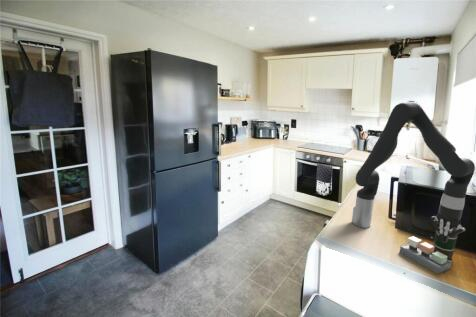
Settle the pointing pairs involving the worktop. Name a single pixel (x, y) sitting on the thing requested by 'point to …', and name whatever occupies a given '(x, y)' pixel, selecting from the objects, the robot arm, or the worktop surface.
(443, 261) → the key sage
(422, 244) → the key terracotta
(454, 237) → the beer bottle
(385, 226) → the worktop surface
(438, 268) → the grey tray
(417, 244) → the key ivory
